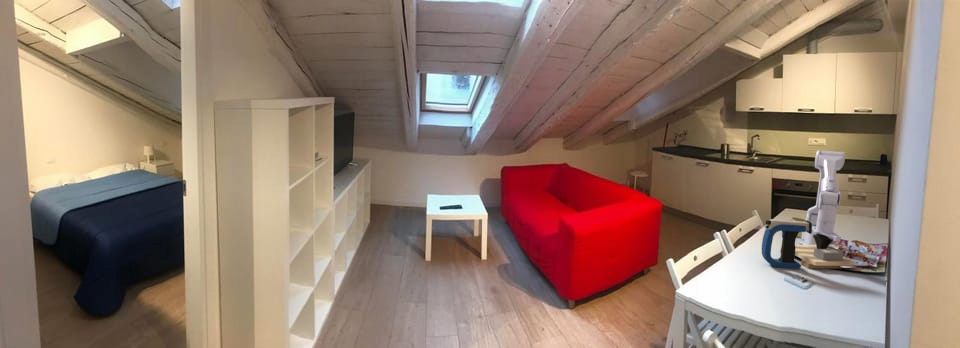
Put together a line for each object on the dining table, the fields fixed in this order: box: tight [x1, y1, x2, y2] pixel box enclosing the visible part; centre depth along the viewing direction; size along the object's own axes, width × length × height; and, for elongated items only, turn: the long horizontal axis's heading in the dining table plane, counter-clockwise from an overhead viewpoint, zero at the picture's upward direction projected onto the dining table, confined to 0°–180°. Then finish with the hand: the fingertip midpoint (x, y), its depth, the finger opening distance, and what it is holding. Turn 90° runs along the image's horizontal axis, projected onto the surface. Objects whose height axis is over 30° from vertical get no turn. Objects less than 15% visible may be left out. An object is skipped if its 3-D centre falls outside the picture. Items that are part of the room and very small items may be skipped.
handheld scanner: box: [761, 218, 812, 270], centre depth 181 cm, size 4×16×19 cm, turn 78°
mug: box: [789, 216, 806, 239], centre depth 221 cm, size 12×10×10 cm
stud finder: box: [814, 248, 845, 261], centre depth 183 cm, size 5×8×3 cm, turn 91°
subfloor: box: [779, 244, 856, 269], centre depth 189 cm, size 20×18×4 cm
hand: (820, 252), depth 186 cm, fingers closed
